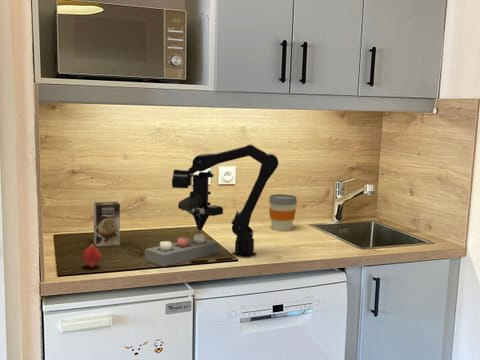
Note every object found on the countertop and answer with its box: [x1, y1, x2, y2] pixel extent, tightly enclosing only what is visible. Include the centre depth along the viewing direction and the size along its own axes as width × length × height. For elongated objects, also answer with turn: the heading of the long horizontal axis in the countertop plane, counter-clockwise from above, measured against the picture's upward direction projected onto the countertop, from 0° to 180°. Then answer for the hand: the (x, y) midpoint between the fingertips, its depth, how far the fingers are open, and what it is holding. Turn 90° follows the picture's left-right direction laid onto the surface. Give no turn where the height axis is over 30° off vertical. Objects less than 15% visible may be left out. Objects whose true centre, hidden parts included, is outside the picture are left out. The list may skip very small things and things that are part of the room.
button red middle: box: [176, 237, 190, 248], centre depth 187 cm, size 4×4×3 cm
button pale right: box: [193, 233, 206, 244], centre depth 192 cm, size 4×4×3 cm
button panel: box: [144, 238, 219, 268], centre depth 187 cm, size 10×26×4 cm, turn 137°
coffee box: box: [93, 201, 121, 247], centre depth 199 cm, size 9×6×16 cm
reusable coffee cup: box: [268, 193, 298, 232], centre depth 235 cm, size 13×13×15 cm
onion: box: [82, 243, 102, 268], centre depth 171 cm, size 6×6×8 cm
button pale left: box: [159, 240, 172, 252], centre depth 181 cm, size 4×4×3 cm
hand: (199, 230), depth 192 cm, fingers closed
